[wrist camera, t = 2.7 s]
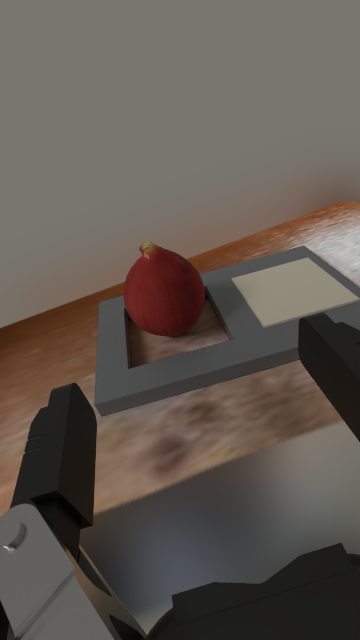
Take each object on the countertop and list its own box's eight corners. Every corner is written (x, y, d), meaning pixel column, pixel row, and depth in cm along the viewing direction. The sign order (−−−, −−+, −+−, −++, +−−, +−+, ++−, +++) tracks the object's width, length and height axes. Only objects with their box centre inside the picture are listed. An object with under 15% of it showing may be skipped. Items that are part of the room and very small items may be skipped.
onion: (174, 304, 28) (152, 218, 23) (226, 324, 24) (212, 227, 19) (126, 342, 25) (89, 253, 20) (176, 371, 21) (145, 272, 16)
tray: (101, 416, 20) (93, 402, 19) (103, 312, 29) (98, 300, 28) (395, 331, 20) (400, 315, 19) (303, 257, 30) (304, 243, 29)
